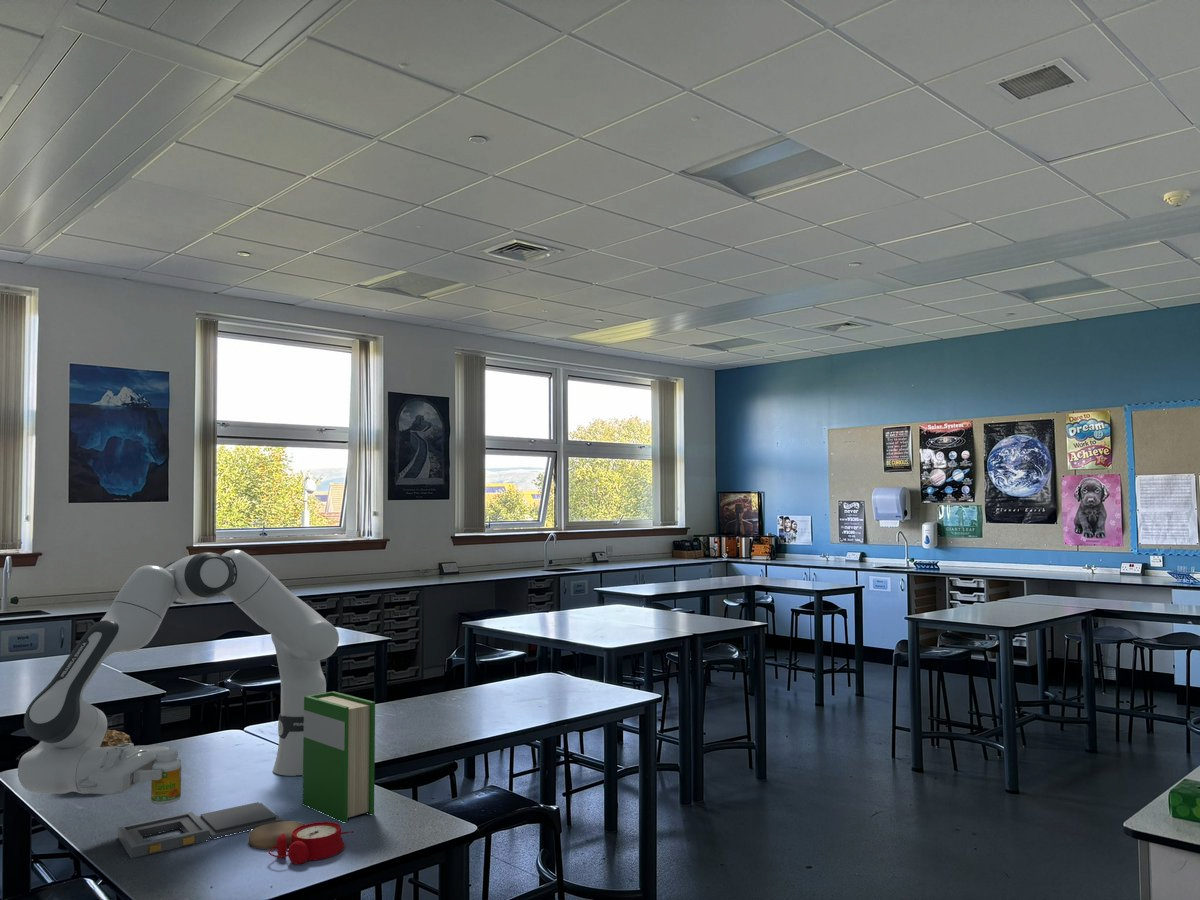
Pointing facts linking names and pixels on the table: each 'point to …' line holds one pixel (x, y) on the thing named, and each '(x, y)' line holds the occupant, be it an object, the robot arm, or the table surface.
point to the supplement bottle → (167, 778)
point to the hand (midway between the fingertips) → (171, 769)
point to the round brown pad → (272, 834)
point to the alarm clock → (311, 842)
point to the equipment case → (193, 828)
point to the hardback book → (339, 754)
